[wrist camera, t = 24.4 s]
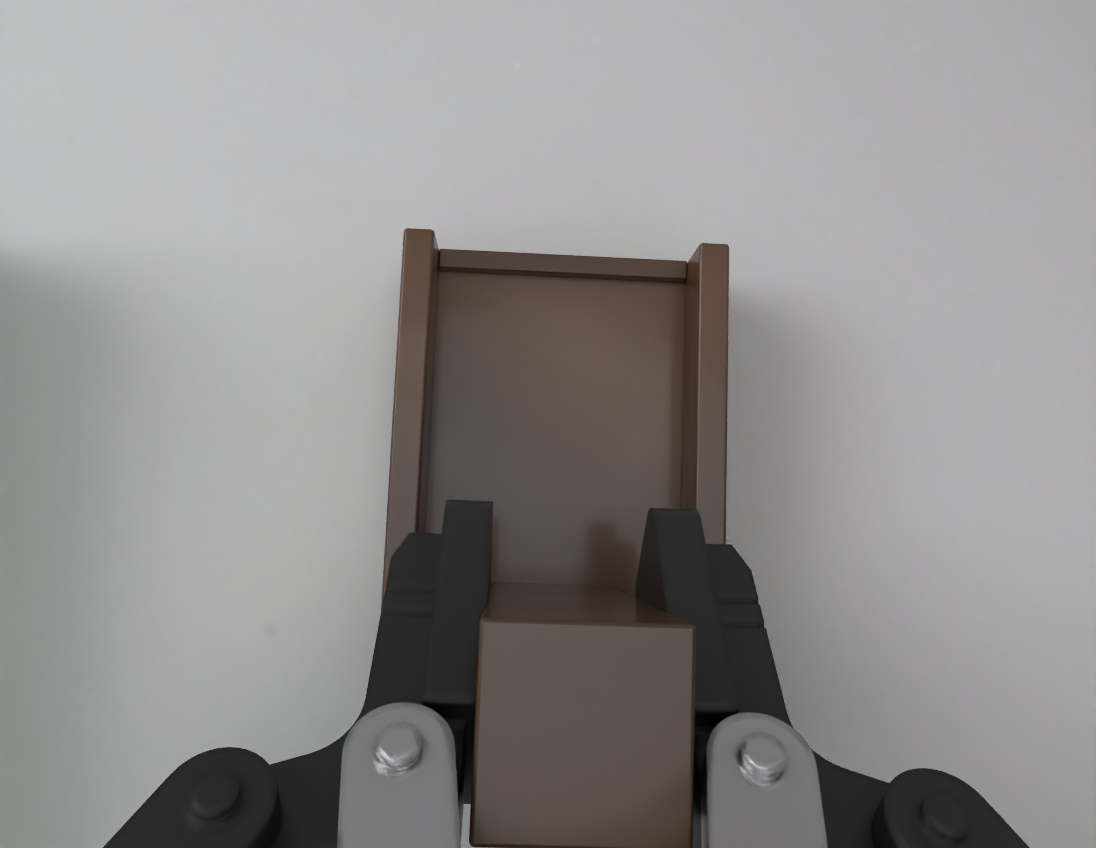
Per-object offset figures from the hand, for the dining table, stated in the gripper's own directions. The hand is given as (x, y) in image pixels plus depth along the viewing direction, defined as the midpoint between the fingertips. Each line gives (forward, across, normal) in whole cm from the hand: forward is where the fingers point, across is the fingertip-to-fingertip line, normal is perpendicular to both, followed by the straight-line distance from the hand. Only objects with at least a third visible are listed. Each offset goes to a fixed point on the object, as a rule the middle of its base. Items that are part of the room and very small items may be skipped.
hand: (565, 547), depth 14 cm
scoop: (+4, 0, +3) cm, 5 cm away
